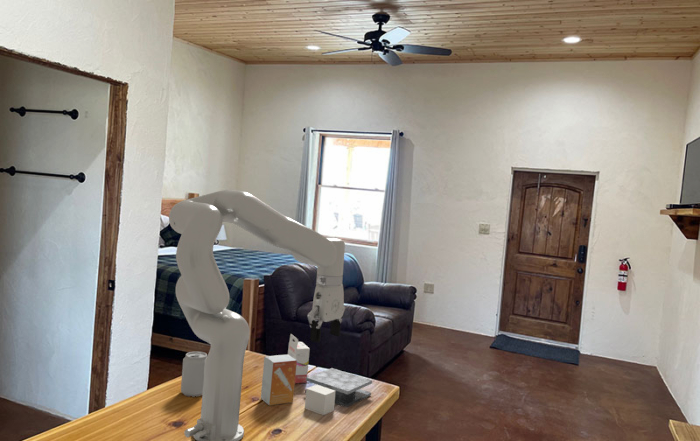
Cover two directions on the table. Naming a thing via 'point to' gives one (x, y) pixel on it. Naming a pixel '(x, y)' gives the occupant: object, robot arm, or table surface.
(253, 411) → the table surface
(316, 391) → the block
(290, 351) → the ink cartridge box
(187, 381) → the can
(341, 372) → the stand
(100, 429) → the table surface
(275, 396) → the small box
